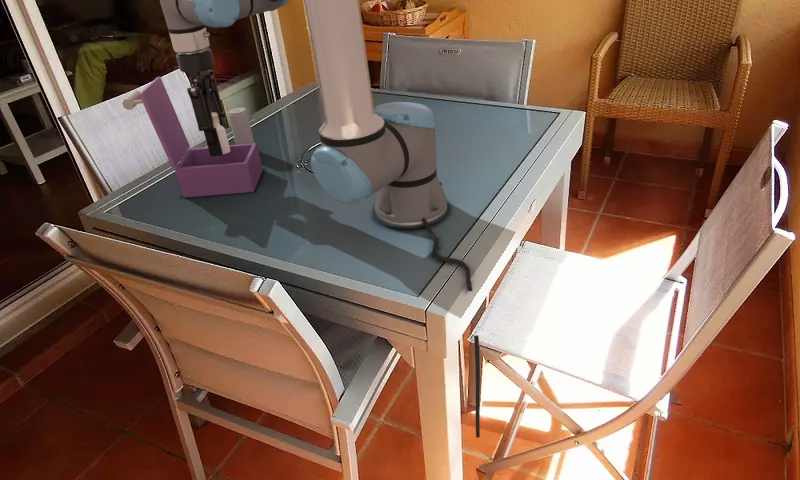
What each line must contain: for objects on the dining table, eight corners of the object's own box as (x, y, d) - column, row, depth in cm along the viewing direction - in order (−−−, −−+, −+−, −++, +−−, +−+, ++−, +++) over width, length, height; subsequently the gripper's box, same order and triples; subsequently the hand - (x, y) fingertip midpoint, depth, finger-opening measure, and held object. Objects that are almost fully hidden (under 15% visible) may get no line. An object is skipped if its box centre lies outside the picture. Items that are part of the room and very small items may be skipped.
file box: (262, 170, 145) (256, 142, 142) (254, 192, 136) (247, 163, 132) (197, 175, 146) (189, 148, 142) (183, 197, 136) (174, 169, 132)
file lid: (160, 76, 132) (132, 82, 133) (142, 93, 122) (112, 99, 123) (190, 146, 142) (164, 151, 142) (175, 167, 132) (147, 172, 132)
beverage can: (259, 151, 156) (250, 108, 149) (244, 157, 153) (234, 114, 146) (249, 147, 159) (239, 105, 152) (234, 153, 156) (223, 111, 149)
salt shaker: (216, 157, 134) (205, 119, 129) (209, 153, 137) (198, 115, 132) (231, 152, 136) (222, 114, 131) (224, 148, 139) (214, 110, 134)
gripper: (199, 60, 116) (226, 165, 128) (220, 38, 131) (243, 134, 144) (162, 63, 116) (193, 168, 128) (187, 41, 131) (213, 136, 144)
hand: (219, 150), depth 136 cm, fingers closed on salt shaker, 5 cm apart
